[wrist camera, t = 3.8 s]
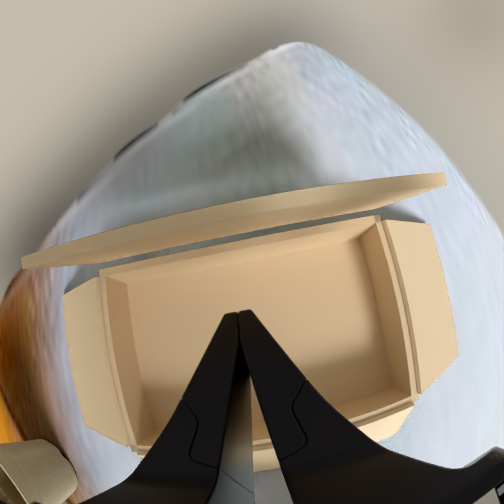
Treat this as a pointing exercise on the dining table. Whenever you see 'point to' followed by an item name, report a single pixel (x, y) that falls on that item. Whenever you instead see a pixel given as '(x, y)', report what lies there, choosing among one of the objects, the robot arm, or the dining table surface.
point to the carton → (267, 325)
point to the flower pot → (35, 473)
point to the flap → (235, 219)
